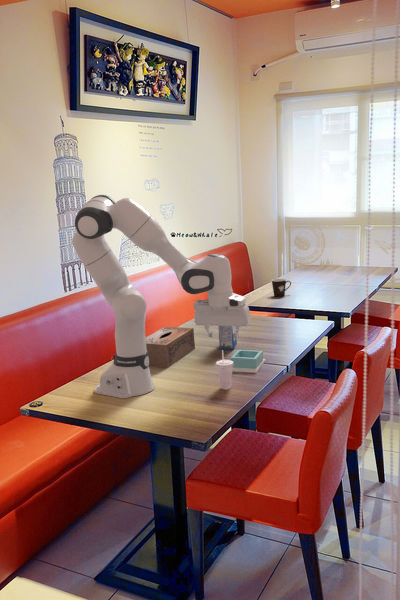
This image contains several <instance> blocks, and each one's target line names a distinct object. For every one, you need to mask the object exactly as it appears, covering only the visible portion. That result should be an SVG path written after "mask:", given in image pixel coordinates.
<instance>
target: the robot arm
mask: <svg viewBox="0 0 400 600" xmlns="http://www.w3.org/2000/svg"><path fill="white" fill-rule="evenodd" d="M74 227H75V230H76V232H74V234H73V236H72V239H71V243H72V246H73V248H74V251H75V252H76V255H77V257H78V259H79V260H80V261H81V263H82V265H83V266H84V268H85V270H86V271H87V273H88V274H89V276H91V278H92V280H93V281H94V283H95V284H96V286H97V287H98V289H99V290H100V292H101V295H102V296H103V297H104V299H105V300H106V302H107V303H108V305H109V306H110V308H111V309H112V310H113V311H114V322H115V325H114V326H115V327H114V330H115V331H114V340H115V341H114V342H115V349H116V350H115V351H116V353H114V354H113V355H112V356H111V357H110V360H111V361H112V360H113V362H112V364H111V365H110V366H108V368H106V369H105V370H103V372H102V373H101V375H100V377H99V384H98V385H96V386H95V388H94V390H93V391H94V394H98V395H102V396H103V395H104V396H110V397H114V398H118V399H127V398H128V399H129V398H131V397H136V396H141V395H145V394H148V393H150V392H151V391H153V390H155V383H154V382H153V381H154V380H153V379H152V375H151V370H150V366H149V356H148V351H147V348H146V337H147V336H146V317H147V316H146V311H147V303H146V299H145V296H144V295H143V293H141V292H140V291H138V290H137V288H136V287H135V286H134V285H133V284H132V281H131V280H130V278H129V277H128V275H127V273H126V272H125V270H124V266H122V264H121V262H120V261H119V259H118V258H117V256H116V255H115V253H114V251H113V250H112V249H111V247H110V246H109V244H108V242H107V240H106V239H105V235H106V234H108V233H110V232H112V231H113V229H116V230H117V231H120V232H121V233H122V234H123V235H124V236H125V237H126V238H128V240H129V241H131V242H132V243H133V244H134V245H135V246H137V247H138V248H139V249H141V250H142V251H144V252H149V253H152V254H154V255H156V256H158V257H159V258H160V259H161V260H162V262H165V263H166V264H167V265H168V266H169V267H170V268H171V270H172V271H173V272H174V273H175V275H176V277H177V280H178V282H179V284H180V285H181V287H182V289H183V290H184V291H185V292H186V293H188V294H190V295H198V294H203V293H205V292H207V299H197V300H195V301H194V302H193V309H194V323H195V325H196V326H204V329H205V331H206V332H207V334H208V335H207V336H208V338H214V336H215V334H214V333H215V332H214V331H213V330H211V328H210V327H213V326H214V327H218V326H236V332H234V333H233V338H237V339H239V337H240V336H239V335H240V333H239V332H240V331H241V330H242V327H248V326H249V325H250V323H251V319H252V318H251V312H250V307H249V306H248V304H246V303H247V297H246V296H243V295H240V294H237V293H235V292H233V291H234V290H233V288H232V278H233V277H232V269H231V263H230V260H229V258H228V257H227V256H225V255H223V254H219V253H208V254H207V255H206V256H205V257H204V258H203V259H201V260H199V261H194V260H191V259H188V258H187V257H185V256H184V254H182V253H181V252H180V250H178V249H177V248H176V247H175V246H174V245H173V244H172V243H171V242H170V240H169V239H168V237H167V235H166V231H165V230H164V229H163V228H162V226H161V225H160V223H159V222H158V221H157V219H156V218H155V217H154V216H153V215H151V213H149V211H148V210H146V209H145V207H143V206H142V205H140V204H139V203H137V202H136V201H134V200H133V199H131V198H129V197H124V198H121V199H119V200H117V201H115V200H114V198H112V197H110V196H109V195H107V194H106V195H105V194H98V195H96V196H93V197H92V198H91V199H89V200H88V201H87V202H86V203H84V204H83V205H82V208H80V210H78V212H77V213H76V216H75V218H74Z"/></svg>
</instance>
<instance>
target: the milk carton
mask: <svg viewBox="0 0 400 600" xmlns="http://www.w3.org/2000/svg"><path fill="white" fill-rule="evenodd" d="M217 327H218V341H219V350H220V351H222V350H223V351H234V350H235V349H236V345H237V344H238V341H237V339H238V338H233V333H234V332H236V331H237V329H236V326H217Z"/></svg>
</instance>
